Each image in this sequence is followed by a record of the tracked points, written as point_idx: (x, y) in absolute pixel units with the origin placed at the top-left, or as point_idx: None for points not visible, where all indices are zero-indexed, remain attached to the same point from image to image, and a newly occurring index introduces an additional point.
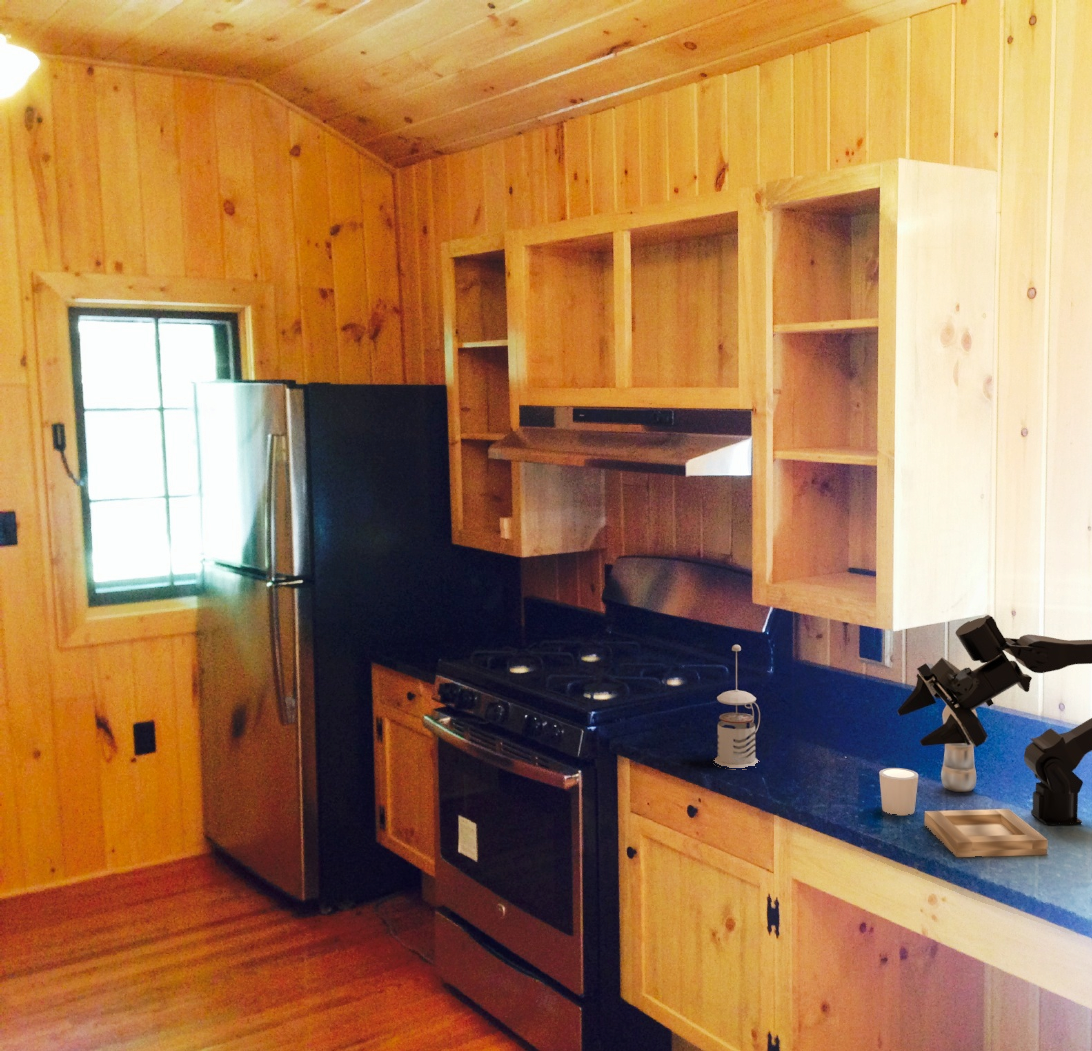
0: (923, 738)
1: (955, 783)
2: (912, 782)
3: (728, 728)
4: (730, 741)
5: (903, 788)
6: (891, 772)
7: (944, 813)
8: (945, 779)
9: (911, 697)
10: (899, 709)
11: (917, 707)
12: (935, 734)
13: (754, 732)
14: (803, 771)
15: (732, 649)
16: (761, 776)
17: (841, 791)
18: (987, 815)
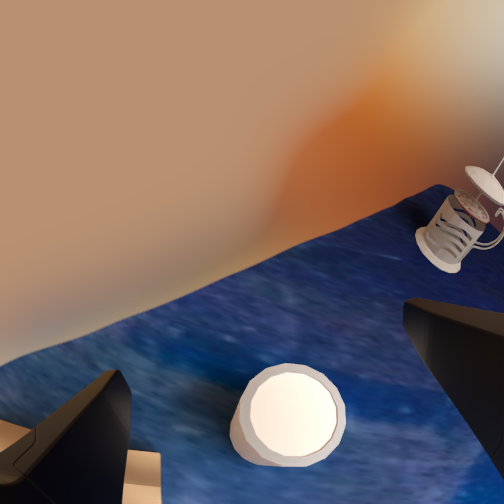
0: (107, 380)
1: None
2: (245, 441)
3: (471, 220)
4: (439, 212)
5: (236, 418)
6: (306, 397)
7: (139, 491)
8: None
9: (497, 324)
10: (418, 301)
11: (467, 404)
12: (47, 419)
13: (472, 240)
14: None
15: None
16: (402, 258)
17: (366, 350)
18: None
